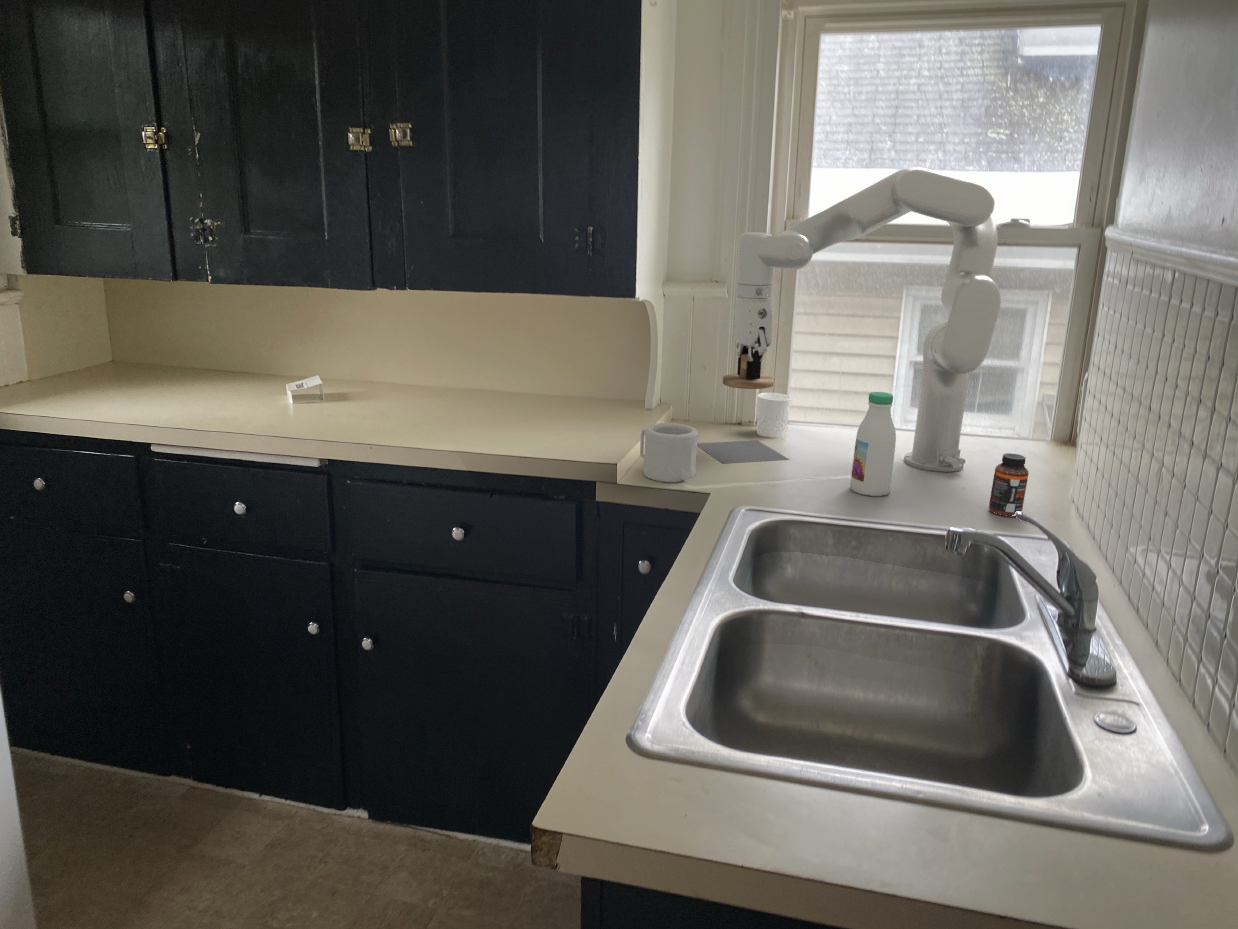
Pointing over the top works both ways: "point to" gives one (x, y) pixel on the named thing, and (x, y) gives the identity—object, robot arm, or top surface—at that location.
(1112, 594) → the top surface
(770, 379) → the wooden lid
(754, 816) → the top surface
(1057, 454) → the top surface
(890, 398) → the milk bottle
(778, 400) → the white cup
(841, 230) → the robot arm
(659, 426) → the mug
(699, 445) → the mat
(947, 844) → the top surface
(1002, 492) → the supplement bottle
